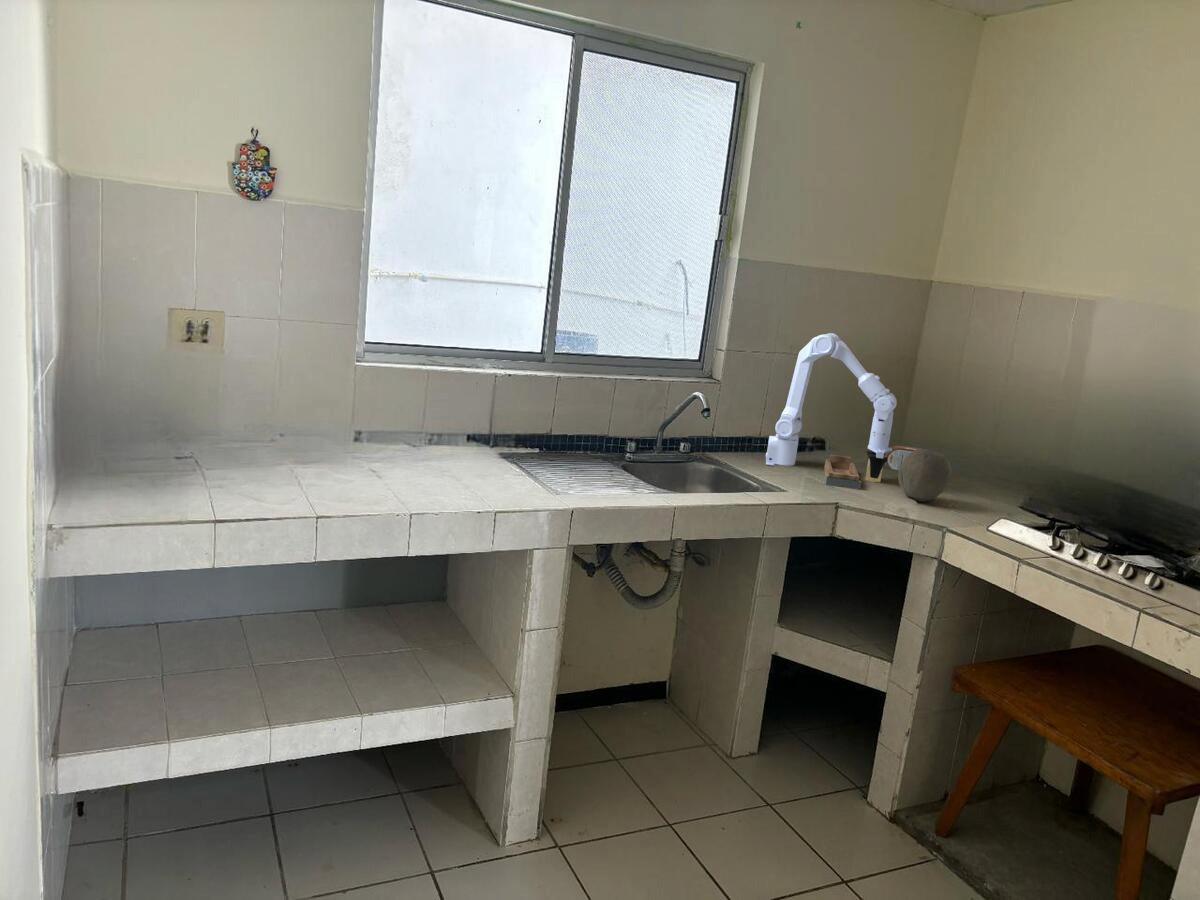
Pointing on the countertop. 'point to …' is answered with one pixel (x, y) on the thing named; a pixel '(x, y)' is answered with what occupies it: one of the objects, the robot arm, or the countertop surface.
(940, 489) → the cantaloupe
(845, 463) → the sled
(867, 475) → the block
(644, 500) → the countertop surface
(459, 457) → the countertop surface
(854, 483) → the track
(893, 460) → the tin
